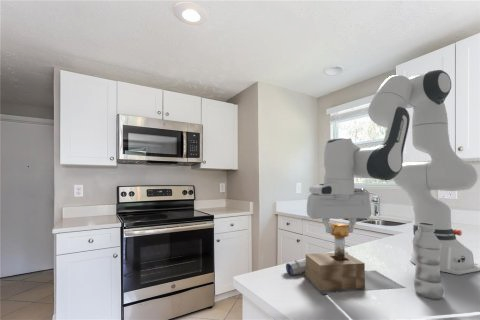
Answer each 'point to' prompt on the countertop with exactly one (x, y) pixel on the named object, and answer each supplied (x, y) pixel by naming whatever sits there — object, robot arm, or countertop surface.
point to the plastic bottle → (427, 262)
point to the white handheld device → (297, 267)
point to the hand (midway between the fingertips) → (339, 232)
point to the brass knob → (339, 238)
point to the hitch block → (343, 274)
